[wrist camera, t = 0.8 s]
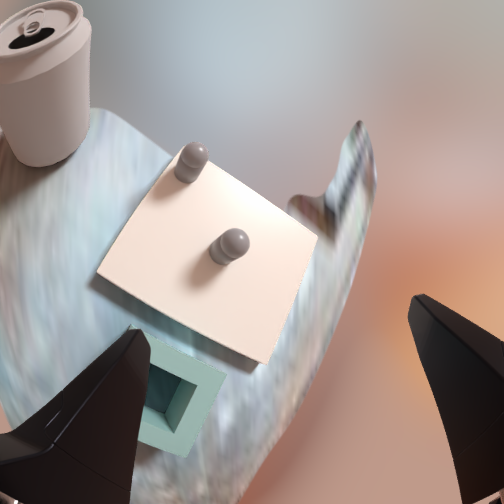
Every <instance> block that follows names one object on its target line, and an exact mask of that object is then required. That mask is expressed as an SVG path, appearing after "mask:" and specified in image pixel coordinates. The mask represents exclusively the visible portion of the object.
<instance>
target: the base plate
mask: <svg viewBox="0 0 504 504" xmlns="http://www.w3.org/2000/svg"><path fill="white" fill-rule="evenodd" d="M208 158H209V153H208V150H207V148H206V146H205V145H203V144H201V143H199V142H192V143H189V144H187V145H186V146H184V147H183V148H182V149H181V150H180V152H179V153H178V154H177V155H176V156H175V158H174V159H173V160H172V161H171V163H170V164H169V165H168V167H167V168H166V169H165V170H164V172H163V173H162V174H161V176H160V177H159V178H158V180H157V181H156V182H155V184H154V185H153V186H152V188H151V189H150V190H149V192H148V193H147V195H146V196H145V197H144V199H143V200H142V202H141V203H140V204H139V206H138V207H137V209H136V210H135V212H134V213H133V215H132V216H131V217H130V219H129V220H128V222H127V223H126V225H125V226H124V228H123V230H122V231H121V233H120V234H119V236H118V237H117V239H116V240H115V242H114V244H113V245H112V247H111V248H110V250H109V252H108V253H107V255H106V256H105V258H104V260H103V261H102V263H101V265H100V267H99V268H98V270H97V273H98V274H99V275H100V276H102V277H103V278H105V279H106V280H108V281H109V282H111V283H112V284H114V285H116V286H117V287H119V288H120V289H122V290H123V291H125V292H127V293H128V294H130V295H132V296H133V297H135V298H137V299H138V300H140V301H142V302H143V303H145V304H147V305H148V306H150V307H152V308H153V309H155V310H157V311H159V312H160V313H162V314H164V315H166V316H167V317H169V318H171V319H173V320H175V321H176V322H178V323H180V324H182V325H184V326H186V327H187V328H189V329H191V330H193V331H195V332H197V333H199V334H201V335H203V336H205V337H207V338H209V339H210V340H212V341H214V342H216V343H218V344H220V345H222V346H225V347H227V348H229V349H231V350H233V351H235V352H237V353H239V354H241V355H243V356H245V357H248V358H250V359H252V360H254V361H256V362H259V363H261V364H265V365H267V363H268V361H269V359H270V357H271V354H272V352H273V350H274V347H275V345H276V343H277V340H278V338H279V336H280V333H281V331H282V329H283V326H284V324H285V321H286V319H287V316H288V314H289V312H290V309H291V307H292V304H293V302H294V299H295V297H296V294H297V292H298V289H299V286H300V284H301V281H302V279H303V276H304V274H305V271H306V268H307V266H308V263H309V260H310V258H311V255H312V252H313V250H314V247H315V244H316V241H317V239H318V236H316V235H315V234H314V233H312V232H311V231H310V230H308V229H307V228H305V227H304V226H303V225H301V224H300V223H299V222H297V221H296V220H294V219H293V218H292V217H290V216H289V215H287V214H286V213H285V212H283V211H282V210H280V209H279V208H277V207H276V206H275V205H273V204H272V203H270V202H269V201H267V200H266V199H265V198H263V197H262V196H260V195H259V194H257V193H256V192H254V191H253V190H251V189H250V188H249V187H247V186H246V185H244V184H243V183H241V182H240V181H238V180H237V179H235V178H234V177H232V176H231V175H229V174H227V173H226V172H225V171H223V170H222V169H220V168H219V167H217V166H216V165H214V164H213V163H211V162H209V161H208Z"/></svg>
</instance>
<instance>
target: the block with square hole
mask: <svg viewBox="0 0 504 504" xmlns="http://www.w3.org/2000/svg"><path fill="white" fill-rule="evenodd" d="M129 329H139V328H137V327H135V326H133V325H132V324H131V325H130V327H129ZM129 329H128V330H129ZM143 333H144V335H145V337H146V338H147V340H148V342H149V344H150V347H151V356H150V363H152V364H154V365H156V366H158V367H160V368H162V369H164V370H166V371H168V372H170V373H172V374H174V375H176V376H178V377H180V378H182V379H181V381H180V383H179V385H178V387H177V389H176V391H175V393H174V395H173V398H172V400H171V402H170V404H169V406H168V408H167V410H166V412H165V414H163V413H161V412H159V411H156V410H154V409H152V408H150V407H147V406H145V405H144V408H143V413H142V419H141V424H140V430H139V436H138V441H140V442H143V443H145V444H148V445H150V446H153V447H156V448H158V449H161V450H164V451H167V452H169V453H172V454H175V455H178V456H181V457H184V458H186V457H187V455H188V453H189V451H190V449H191V447H192V445H193V443H194V441H195V439H196V437H197V435H198V433H199V431H200V429H201V427H202V425H203V423H204V421H205V419H206V417H207V415H208V413H209V411H210V409H211V407H212V405H213V403H214V401H215V399H216V397H217V394H218V392H219V390H220V388H221V386H222V384H223V382H224V380H225V378H226V376H227V374H226V373H224V372H222V371H220V370H218V369H216V368H214V367H212V366H210V365H208V364H206V363H204V362H202V361H200V360H198V359H196V358H194V357H191V356H189V355H187V354H185V353H183V352H181V351H179V350H177V349H176V348H174V347H172V346H170V345H168V344H166V343H164V342H162V341H160V340H158V339H157V338H155V337H153V336H151V335H149V334H148V333H146V332H144V331H143Z"/></svg>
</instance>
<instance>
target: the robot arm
mask: <svg viewBox="0 0 504 504" xmlns="http://www.w3.org/2000/svg"><path fill="white" fill-rule="evenodd" d="M408 322H409V325H410V328H411V331H412V334H413V337H414V341H415V344H416V347H417V351H418V354H419V358H420V361H421V363H422V366H423V368H424V371H425V374H426V376H427V379H428V381H429V384H430V387H431V390H432V392H433V395H434V398H435V401H436V404H437V407H438V410H439V413H440V416H441V419H442V422H443V425H444V429H445V432H446V435H447V439H448V442H449V446H450V450H451V453H452V457H453V461H454V466H455V470H456V474H457V479H458V484H459V488H460V493H461V499H462V504H473V503H476V502H478V501H480V500H482V499H484V498H486V497H488V496H490V495H492V494H494V493H496V492H498V491H499V494H500V496H499V497H497V498H496V499H494V500H492V501H491V502H490V503H489V504H504V342H503V341H500V339H498V338H497V337H495V336H494V335H492V334H490V333H489V332H487V331H486V330H484V329H482V328H481V327H479V326H478V325H476V324H474V323H473V322H471V321H470V320H468V319H466V318H464V317H463V316H461V315H460V314H458V313H456V312H455V311H453V310H451V309H449V308H448V307H446V306H444V305H442V304H441V303H439V302H438V301H436V300H434V299H432V298H431V297H429V296H427V295H425V294H419V295H415V296H413V297H412V299H411V304H410V308H409V312H408ZM150 356H151V347H150V344H149V342H148V340H147V338H146V337H145V335H144V333H143V331H142V330H141V329H129V330H128V331H127V332H126V333H125V334H123V335H122V336H121V337H120V338H119V339H118V340H117V341H116V342H114V343H113V344H112V345H111V346H110V347H109V348H108V349H107V350H106V351H104V352H103V353H102V354H101V355H100V356H99V357H98V358H97V359H96V360H94V361H93V362H92V363H91V364H90V365H89V366H88V367H87V368H86V369H84V370H83V371H82V372H81V373H80V374H79V375H78V376H77V377H76V378H75V379H74V380H72V381H71V382H70V383H69V384H68V385H67V386H66V387H65V388H64V389H63V390H62V391H60V392H59V393H58V394H57V395H56V396H55V397H54V398H53V399H52V400H51V401H49V402H48V403H47V404H46V405H45V406H44V407H42V408H41V409H40V410H39V411H38V412H36V413H35V414H34V415H33V416H31V417H30V418H29V419H27V420H26V421H25V422H24V423H22V424H21V425H20V426H19V427H17V428H16V429H14V430H13V431H11V432H8V433H4V434H0V504H129V503H130V494H131V492H130V491H131V484H132V476H133V469H134V461H135V455H136V448H137V442H138V436H139V430H140V424H141V419H142V413H143V408H144V403H145V398H146V392H147V386H148V376H149V366H150Z"/></svg>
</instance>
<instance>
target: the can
mask: <svg viewBox="0 0 504 504" xmlns="http://www.w3.org/2000/svg"><path fill="white" fill-rule="evenodd" d="M82 15H83V10H82V7H81V6H80V5H78V4H77V3H75V2H73V1H67V0H54V1H48V2H44V3H39V4H36V5H33V6H31V7H28V8H25V9H24V10H22V11H20V12H18V13H16V14H14V15H12V16H11V17H10V18H8V19H7V20H6V21H4V22H3V23H2V24H1V25H0V126H1V128H2V130H3V133H4V135H5V137H6V139H7V141H8V143H9V145H10V147H11V149H12V151H13V153H14V155H15V156H16V158H17V159H18V161H20V162H22V163H23V164H25V165H27V166H33V167H43V166H48V165H53V164H55V163H57V162H59V161H61V160H63V159H65V158H66V157H68V156H69V155H70V154H71V153H73V152H74V151H75V150H76V149H77V148H78V147H79V145H80V144H81V143H82V142H83V140H84V139H85V137H86V135H87V132H88V130H89V127H90V106H89V105H90V104H89V62H90V42H91V29H92V28H91V26H90V23H89V21H88V20H87V19H86V18H84V17H83V16H82Z"/></svg>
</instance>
